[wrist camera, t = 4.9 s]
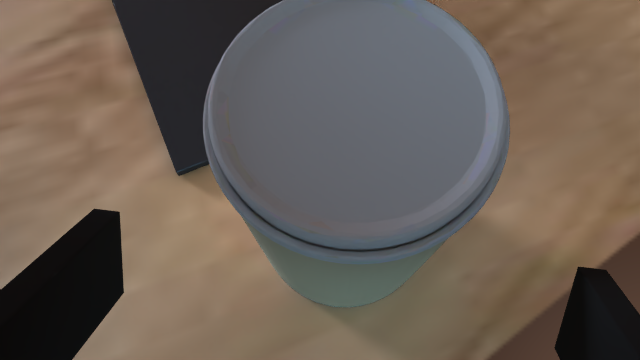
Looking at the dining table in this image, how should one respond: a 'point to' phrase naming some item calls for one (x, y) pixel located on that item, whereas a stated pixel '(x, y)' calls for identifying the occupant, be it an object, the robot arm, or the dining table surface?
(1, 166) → the dining table surface
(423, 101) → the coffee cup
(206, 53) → the coaster
